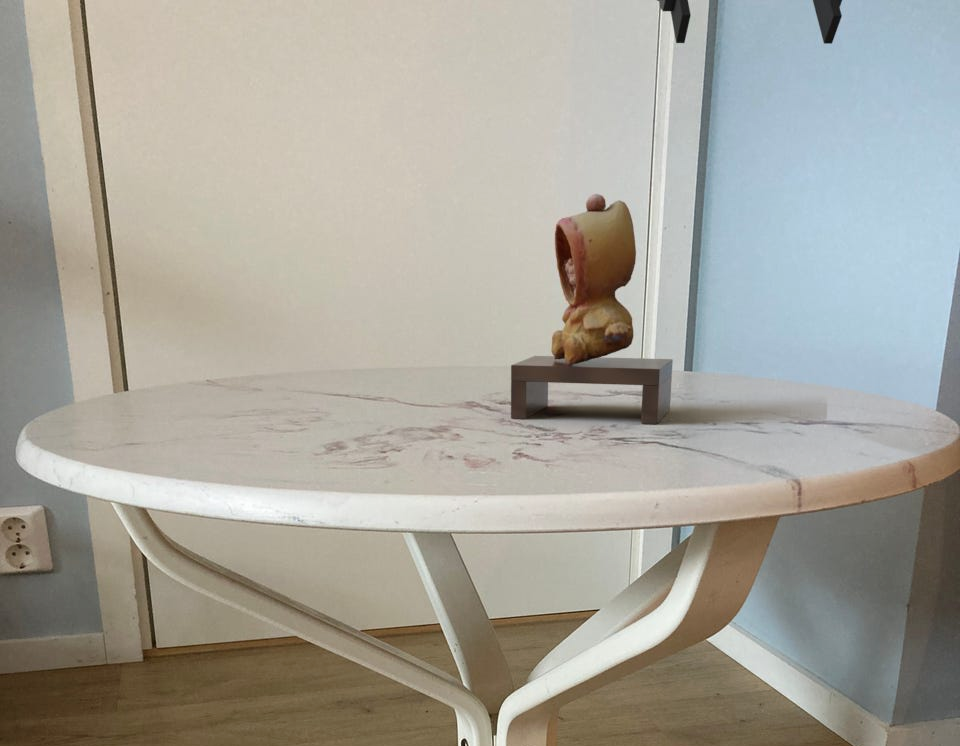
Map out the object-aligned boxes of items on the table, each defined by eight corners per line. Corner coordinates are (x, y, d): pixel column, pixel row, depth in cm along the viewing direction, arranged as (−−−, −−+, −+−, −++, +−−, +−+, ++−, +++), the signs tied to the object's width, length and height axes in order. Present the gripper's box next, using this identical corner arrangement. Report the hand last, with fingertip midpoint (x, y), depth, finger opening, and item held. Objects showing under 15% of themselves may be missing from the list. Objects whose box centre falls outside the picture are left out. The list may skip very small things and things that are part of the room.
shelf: (670, 410, 110) (672, 359, 108) (656, 424, 102) (659, 369, 100) (533, 405, 114) (534, 355, 112) (510, 418, 106) (510, 365, 104)
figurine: (540, 357, 110) (542, 195, 105) (611, 355, 112) (617, 196, 106) (572, 368, 101) (576, 191, 96) (649, 366, 102) (657, 192, 97)
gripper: (838, -77, 112) (879, 67, 103) (594, -79, 111) (614, 66, 102) (864, -156, 105) (910, -10, 96) (604, -160, 104) (627, -12, 95)
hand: (758, 30), depth 99 cm, fingers open, 13 cm apart
